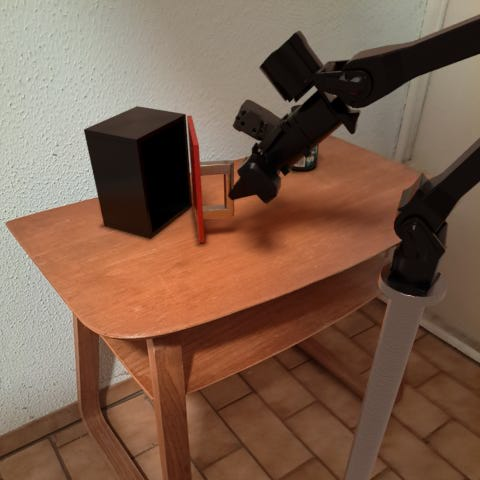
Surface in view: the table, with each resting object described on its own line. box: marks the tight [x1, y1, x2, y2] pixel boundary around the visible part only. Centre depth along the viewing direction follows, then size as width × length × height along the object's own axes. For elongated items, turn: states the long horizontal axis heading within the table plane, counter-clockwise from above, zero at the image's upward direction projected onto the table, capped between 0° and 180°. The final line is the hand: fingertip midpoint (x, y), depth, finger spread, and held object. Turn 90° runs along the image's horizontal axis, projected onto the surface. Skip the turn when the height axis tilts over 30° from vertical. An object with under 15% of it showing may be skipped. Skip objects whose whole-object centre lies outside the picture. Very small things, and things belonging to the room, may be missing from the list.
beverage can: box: [288, 104, 320, 172], centre depth 99 cm, size 7×7×12 cm
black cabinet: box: [83, 105, 194, 239], centre depth 80 cm, size 10×14×17 cm
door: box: [186, 115, 235, 244], centre depth 78 cm, size 6×14×16 cm, turn 9°
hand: (232, 193), depth 76 cm, fingers closed
